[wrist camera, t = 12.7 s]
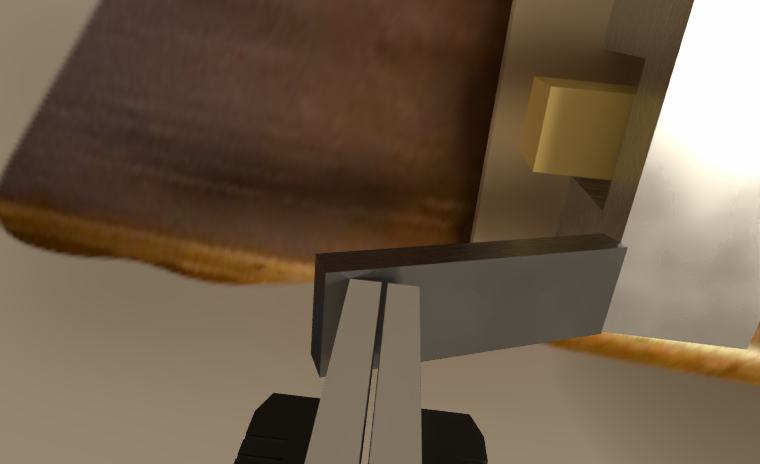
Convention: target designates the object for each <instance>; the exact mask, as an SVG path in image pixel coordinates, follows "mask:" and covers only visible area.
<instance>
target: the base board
mask: <svg viewBox="0 0 760 464" xmlns="http://www.w3.org/2000/svg"><path fill="white" fill-rule="evenodd" d="M613 3H614V0H513V1H512V7H511V13H510V18H509V24H508V30H507V35H506V41H505V46H504V52H503V58H502V63H501V69H500V75H499V80H498V86H497V92H496V97H495V103H494V108H493V114H492V120H491V125H490V131H489V137H488V142H487V148H486V154H485V159H484V165H483V171H482V176H481V182H480V187H479V193H478V199H477V204H476V210H475V216H474V221H473V227H472V233H471V238H470V243H474V242H488V241H502V240H516V239H530V238H544V237H556V233H557V229H558V225H559V221H560V217H561V213H562V209H563V205H564V201H565V197H566V193H567V189H568V185H569V181H570V177H571V176H568V175H558V174H549V173H540V172H533V171H532V170H531V168H530V167H529V165H528V164H527V162H526V160H525V159H524V157H523V156H522V154H521V153H520V151H519V150H520V145H521V140H522V135H523V130H524V125H525V120H526V115H527V110H528V105H529V100H530V95H531V90H532V85H533V80H534V76H539V77H549V78H559V79H569V80H579V81H589V82H599V83H609V84H619V85H629V86H639V82H640V79H641V75H642V72H643V68H644V65H645V61H646V59H645V58H641V57H636V56H632V55H628V54H623V53H619V52H614V51H610V50H605V49H602V48H603V44H604V40H605V36H606V32H607V28H608V24H609V20H610V16H611V11H612V7H613Z"/></svg>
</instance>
